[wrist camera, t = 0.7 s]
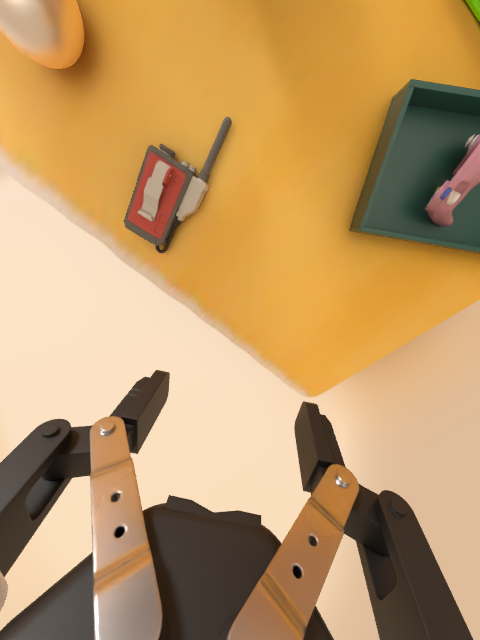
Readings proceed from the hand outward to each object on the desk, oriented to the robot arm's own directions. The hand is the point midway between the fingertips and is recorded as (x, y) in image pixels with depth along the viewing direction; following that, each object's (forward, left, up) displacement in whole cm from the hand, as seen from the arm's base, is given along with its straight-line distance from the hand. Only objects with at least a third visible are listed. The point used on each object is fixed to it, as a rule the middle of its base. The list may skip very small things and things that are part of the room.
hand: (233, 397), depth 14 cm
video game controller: (-18, +23, -27) cm, 40 cm away
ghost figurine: (-27, -29, -27) cm, 48 cm away
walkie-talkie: (-13, -14, -27) cm, 33 cm away
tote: (-18, +23, -27) cm, 40 cm away
